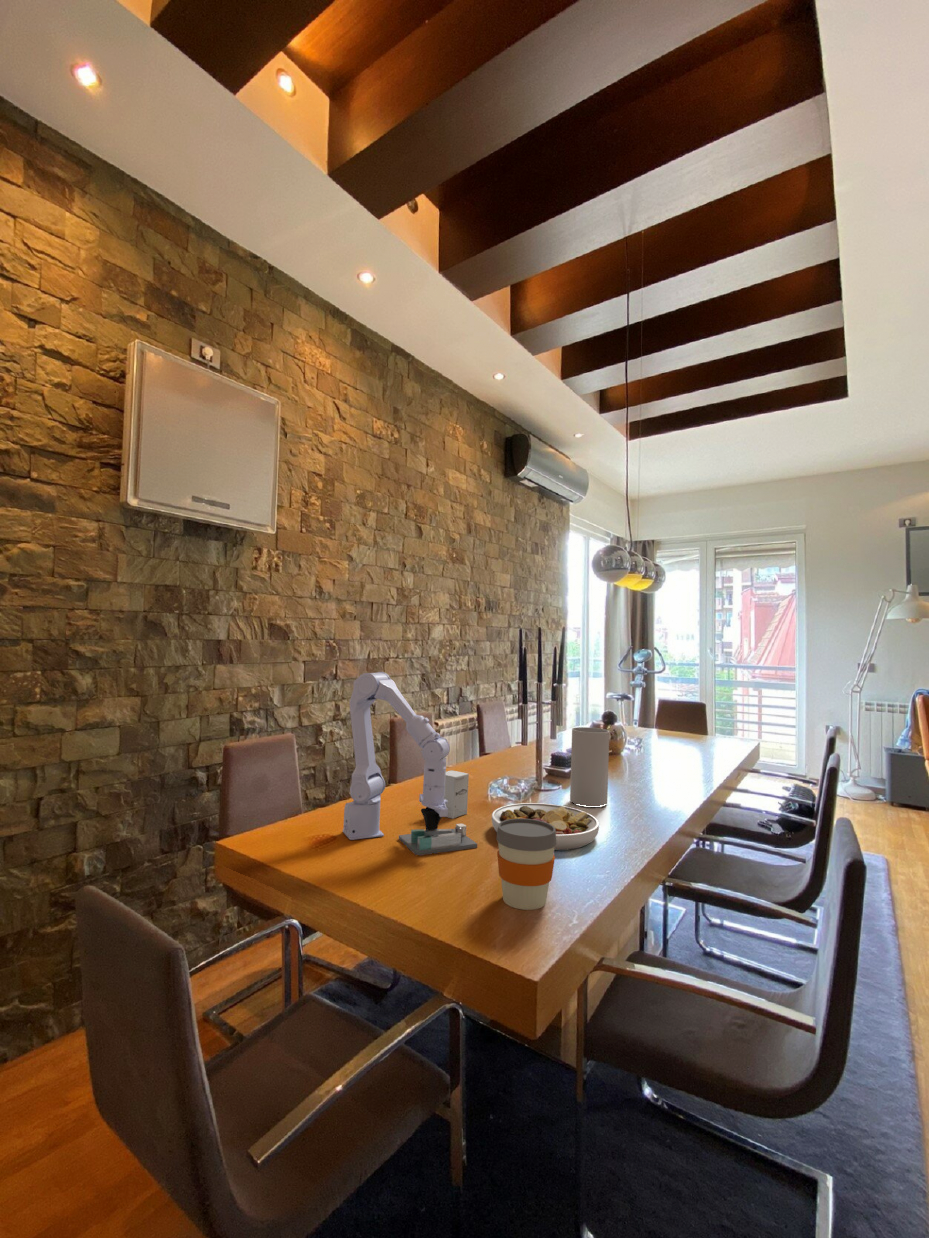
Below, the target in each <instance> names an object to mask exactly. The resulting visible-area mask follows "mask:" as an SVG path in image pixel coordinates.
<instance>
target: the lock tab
mask: <svg viewBox="0 0 929 1238" xmlns="http://www.w3.org/2000/svg"><path fill="white" fill-rule="evenodd" d="M455 827H463V835H466V836H467V825H466V824H464V823H455Z"/></svg>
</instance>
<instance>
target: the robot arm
mask: <svg viewBox="0 0 929 1238" xmlns="http://www.w3.org/2000/svg"><path fill="white" fill-rule="evenodd" d="M390 677H391V676H390V675H389V674H388V673H386V672H384V671H378V672H363V673H361V674H360V675H359V676H358V677H357V678H356V679H355V680H354V681H353V690H352V692H351V696H350V699H349V713H350V723H351V724H350V725H351V733H352V741H353V750H354V751H353V753H354V760H355V768H354V770H353V772H352V774H351V783H350V786H349V795H350V798H351V799H352V800H353V801H350V802H346V803H345V805H344V808H343V809H344V812H343V828H342V832H343V834H344V835H345V836H346V838H348V839H349V841H353V840H354V841H355V840H360V839H361V840H363V839H371V838H377V837H379V838H381V837H384V836H385V834H384V833H383V832H382V830H380V823H381V821H380V819H381V798H382V797H381V796H382V795H381V794H383V793H384V791H385V788H386V781H385V779H384V777H383V775H382V771H381V768H380V766H379V765H378V764H377V762H376V752H375V743H374V734H373V727H372V726H373V725H372V716H371V706H372V705H373V704H374V703H375V701H376V700H377V699H378V700H381V701H385V702H388V704H389V705H390V706H391V707H392V709H394V710H395V711H396V713H397V714H398V715H399V716H400V717H401V718H402V719H403V721H404V722H405V723H406V724H405V725H406V726H405V729H406V731H407V732H408V734H409V735H410V736H411V737H412V739H413V740H414V741H415V742H416V744H417V745H418V746H419V748H420V749H421V750H420V751H421V756H422V758H423V760H424V767H423V768H424V769H423V781H422V782H423V786H422V793H420V794H419V796H418V797H419V798H418V799H419V800H418V802H419V803H421V805H422V806H423V807H424V808H421V809H420V812H421V814H422V816H423V820H424V823H425V830H428V829H438V828H439V823H440V821H441V819H442V818H443V817H445V818H447V817H446V816H448V809H447V808H446V805H445V804H448V801H447V800H446V799H444V793H445V775H446V772H447V758H446V757H448V755H449V753H450V751H451V747H450V742H449V741H448V739H447V738H446V737H443V736H441V734H440V733H439V732H436V730H435V729H434V728H433V727H432V725H431V724H430V723H429V722H430V719H429V718H428V717H425V716H424V715H419V714H417V713H416V712H415V711H414V709H413V708H412V706H411V705H410V704H409V702H408V701H407V700H406V698H405V696H403V694H402V693H401V691H400V689H398V686H397V685H396V682H395V681H394V680H393V679H392V678H390Z"/></svg>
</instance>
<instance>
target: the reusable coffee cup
mask: <svg viewBox="0 0 929 1238" xmlns="http://www.w3.org/2000/svg"><path fill="white" fill-rule="evenodd" d="M496 841H497V843H498V845H497V846H498V850H497V853H496V855H497V866H498V867H497V868H498V875H499V878H500V879H501V890H502V900H503V902H504V903H505V904H506V905H507V906H509V907H511V908H514V909H517V910H518V909H519V910H524V911H526V910H527V911H530V910H531V911H533V910H538V909H541V908H543V907H544V906H545V905H546V903H547V898H548V893H549V885H550V882H551V881H552V879H553V874H554V866H555V860H556V856H555V850H554V847H555V846H556V844H557V842H556V829H555V827H554V826H553V825H551V824H549V823H546V822H543V821H539V820H534V819H508V820H504V821H502V822H500V823H499V824H498V831H497V832H496Z"/></svg>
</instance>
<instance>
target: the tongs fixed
mask: <svg viewBox="0 0 929 1238" xmlns="http://www.w3.org/2000/svg"><path fill="white" fill-rule="evenodd" d="M454 829H455V833H448V834H440V835H432V836H430V835H428V836H419V837H418V840H417V849H418V850H426V849H433V848H441V847H448V846H456V845H461V843H462V839H463V827H456V826H455V827H454Z"/></svg>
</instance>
